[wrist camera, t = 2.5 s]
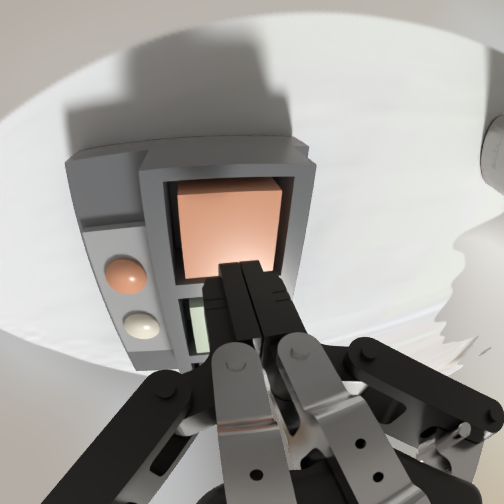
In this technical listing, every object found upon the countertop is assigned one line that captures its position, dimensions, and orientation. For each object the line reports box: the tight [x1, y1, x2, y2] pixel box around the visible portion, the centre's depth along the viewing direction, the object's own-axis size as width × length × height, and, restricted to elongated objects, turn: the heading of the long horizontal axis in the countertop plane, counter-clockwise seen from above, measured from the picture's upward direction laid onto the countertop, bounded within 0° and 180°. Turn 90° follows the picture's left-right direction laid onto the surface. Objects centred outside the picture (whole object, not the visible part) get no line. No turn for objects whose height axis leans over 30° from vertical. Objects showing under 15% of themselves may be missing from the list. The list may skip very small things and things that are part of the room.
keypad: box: [65, 135, 316, 389], centre depth 19 cm, size 14×21×6 cm
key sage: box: [189, 297, 210, 353], centre depth 18 cm, size 5×5×2 cm
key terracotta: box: [177, 177, 282, 279], centre depth 14 cm, size 5×5×2 cm
